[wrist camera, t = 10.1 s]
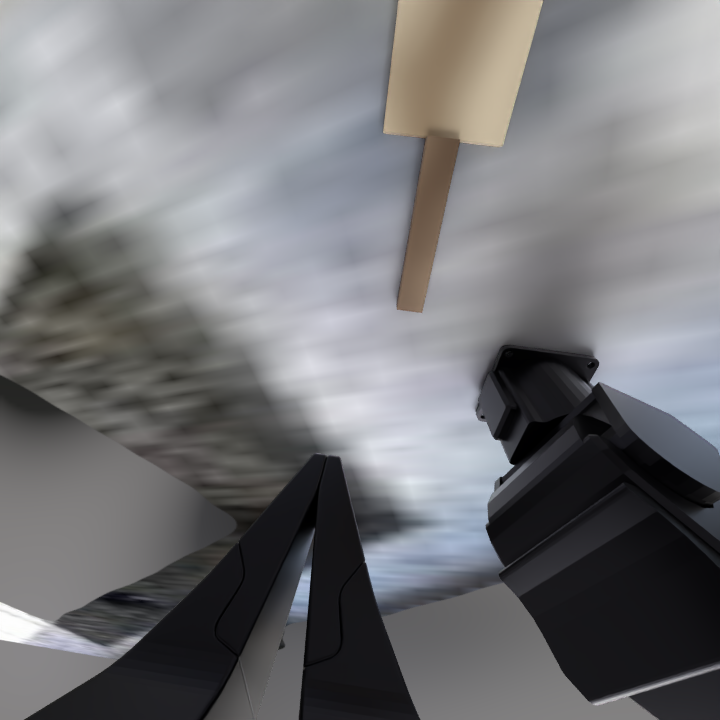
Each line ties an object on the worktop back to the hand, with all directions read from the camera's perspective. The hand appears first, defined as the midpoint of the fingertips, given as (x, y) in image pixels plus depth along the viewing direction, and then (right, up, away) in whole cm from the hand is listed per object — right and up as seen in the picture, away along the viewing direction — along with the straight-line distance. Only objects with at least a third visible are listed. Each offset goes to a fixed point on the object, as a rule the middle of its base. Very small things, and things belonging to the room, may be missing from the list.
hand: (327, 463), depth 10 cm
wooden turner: (+5, +15, +6) cm, 17 cm away
